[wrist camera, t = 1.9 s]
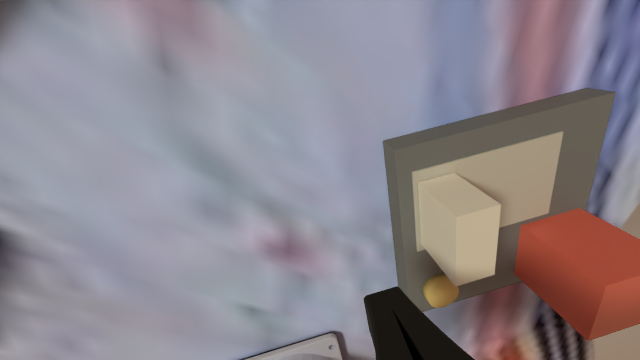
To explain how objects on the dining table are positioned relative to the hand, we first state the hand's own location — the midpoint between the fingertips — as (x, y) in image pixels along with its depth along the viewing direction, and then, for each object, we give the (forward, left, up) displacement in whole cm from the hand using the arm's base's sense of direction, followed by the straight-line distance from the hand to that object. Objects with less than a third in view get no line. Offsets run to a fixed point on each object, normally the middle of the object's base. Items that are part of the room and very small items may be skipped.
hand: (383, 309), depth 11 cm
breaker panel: (-2, -9, -7) cm, 11 cm away
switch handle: (0, -5, -5) cm, 7 cm away
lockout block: (-5, -12, -5) cm, 14 cm away
